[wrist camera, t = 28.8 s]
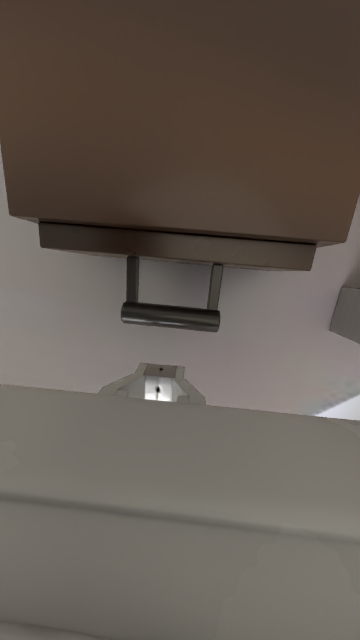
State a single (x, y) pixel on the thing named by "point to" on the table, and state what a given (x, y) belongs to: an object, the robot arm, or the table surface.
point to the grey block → (347, 314)
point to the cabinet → (183, 115)
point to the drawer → (179, 251)
